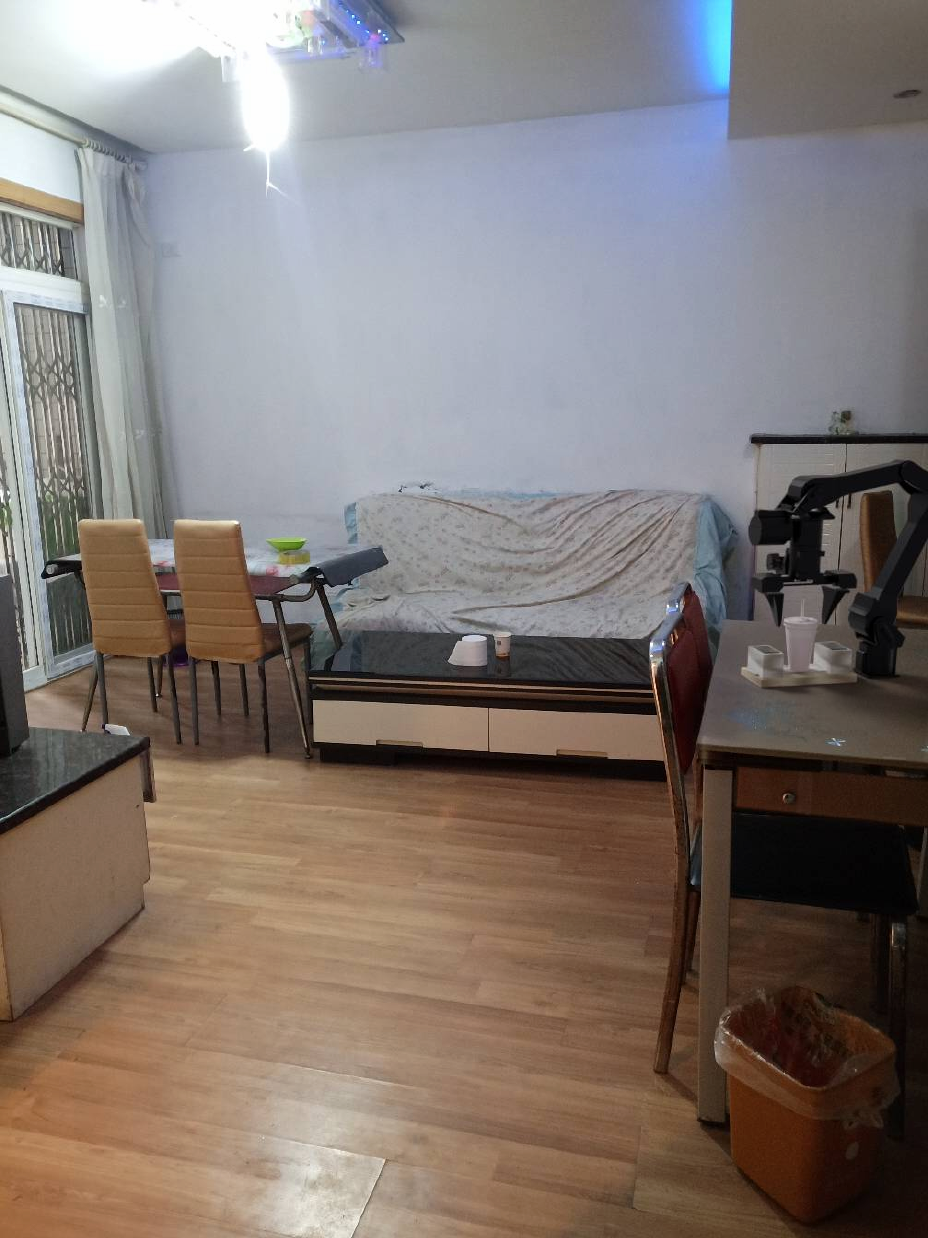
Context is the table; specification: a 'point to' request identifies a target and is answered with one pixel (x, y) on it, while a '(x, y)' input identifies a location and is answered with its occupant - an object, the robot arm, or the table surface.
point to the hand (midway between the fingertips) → (801, 625)
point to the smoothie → (800, 640)
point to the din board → (825, 669)
